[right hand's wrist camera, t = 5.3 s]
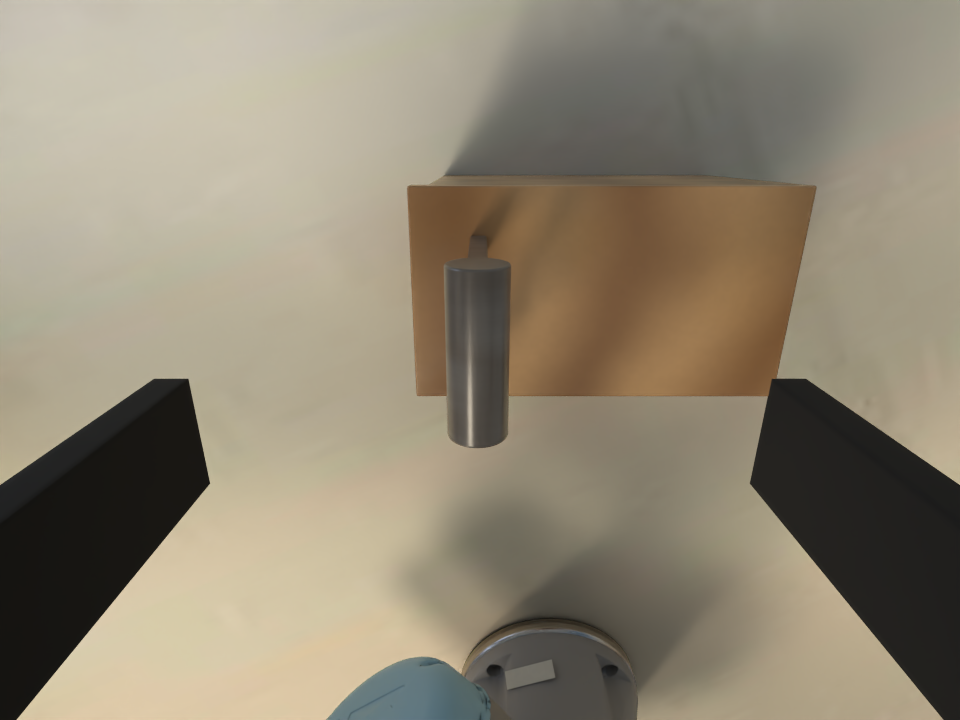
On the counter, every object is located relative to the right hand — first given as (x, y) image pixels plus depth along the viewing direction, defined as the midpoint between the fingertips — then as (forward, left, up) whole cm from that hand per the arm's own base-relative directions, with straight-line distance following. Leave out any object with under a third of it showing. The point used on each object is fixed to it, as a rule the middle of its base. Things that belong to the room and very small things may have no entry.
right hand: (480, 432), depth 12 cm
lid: (+3, -5, -13) cm, 14 cm away
